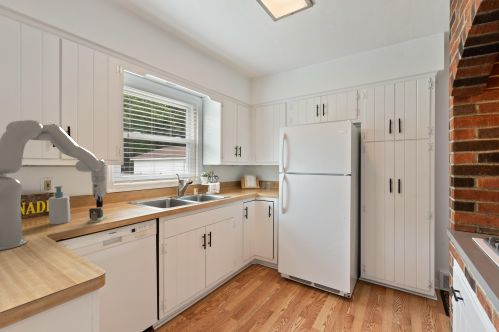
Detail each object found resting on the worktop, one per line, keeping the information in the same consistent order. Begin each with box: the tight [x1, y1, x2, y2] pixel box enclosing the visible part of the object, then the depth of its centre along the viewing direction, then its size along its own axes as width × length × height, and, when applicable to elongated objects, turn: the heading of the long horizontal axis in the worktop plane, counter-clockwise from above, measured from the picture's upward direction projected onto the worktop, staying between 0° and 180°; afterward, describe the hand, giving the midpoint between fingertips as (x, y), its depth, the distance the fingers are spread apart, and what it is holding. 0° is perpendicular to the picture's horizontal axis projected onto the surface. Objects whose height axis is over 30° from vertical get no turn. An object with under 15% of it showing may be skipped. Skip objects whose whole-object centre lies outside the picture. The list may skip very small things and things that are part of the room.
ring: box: [88, 207, 102, 220], centre depth 148 cm, size 6×2×6 cm, turn 103°
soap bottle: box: [47, 185, 71, 225], centre depth 145 cm, size 10×9×22 cm
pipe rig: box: [87, 208, 107, 224], centre depth 150 cm, size 7×10×6 cm
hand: (99, 207), depth 154 cm, fingers closed
